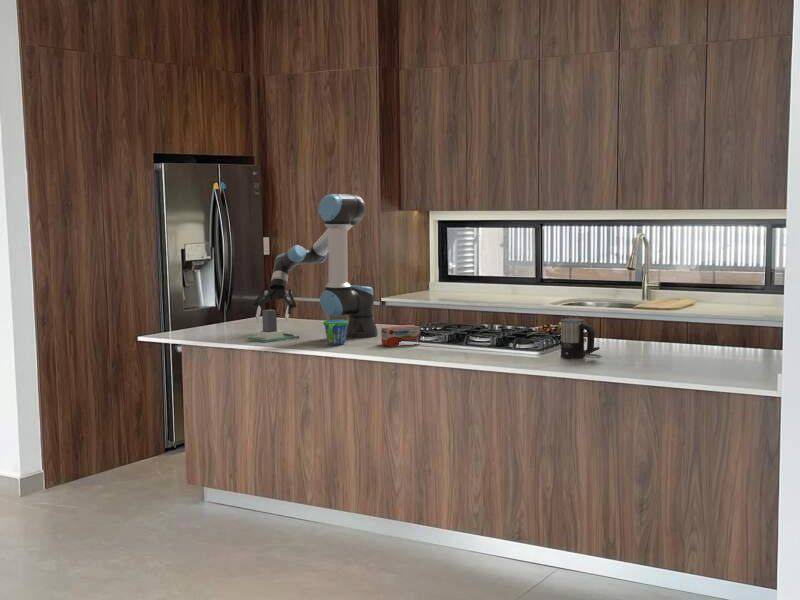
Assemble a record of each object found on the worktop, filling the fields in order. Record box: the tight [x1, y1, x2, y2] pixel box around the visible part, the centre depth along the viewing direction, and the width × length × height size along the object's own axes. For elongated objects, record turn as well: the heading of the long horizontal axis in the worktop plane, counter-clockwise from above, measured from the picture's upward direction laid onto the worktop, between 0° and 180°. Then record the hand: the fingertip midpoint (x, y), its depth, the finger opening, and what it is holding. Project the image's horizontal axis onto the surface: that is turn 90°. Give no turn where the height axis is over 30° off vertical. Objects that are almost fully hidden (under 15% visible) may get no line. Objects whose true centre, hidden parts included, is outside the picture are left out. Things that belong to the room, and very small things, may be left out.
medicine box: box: [380, 324, 421, 348], centre depth 413 cm, size 15×8×8 cm, turn 110°
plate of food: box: [535, 321, 587, 333], centre depth 442 cm, size 28×28×6 cm
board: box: [247, 329, 300, 343], centre depth 434 cm, size 14×18×4 cm
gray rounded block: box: [261, 309, 278, 333], centre depth 432 cm, size 5×4×12 cm
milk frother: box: [560, 318, 601, 360], centre depth 376 cm, size 14×16×15 cm
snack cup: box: [323, 319, 348, 346], centre depth 416 cm, size 16×10×10 cm
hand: (271, 318), depth 437 cm, fingers open, 13 cm apart
